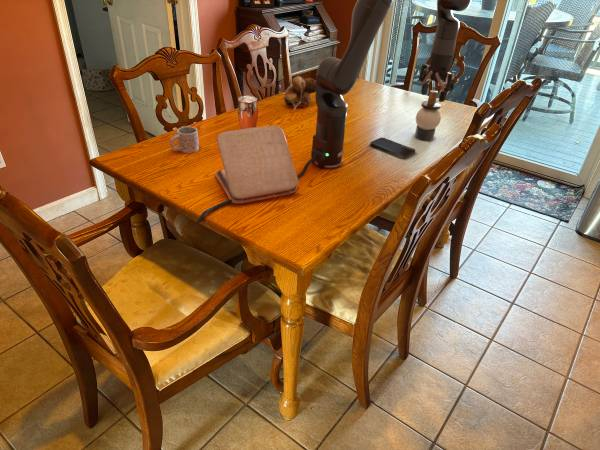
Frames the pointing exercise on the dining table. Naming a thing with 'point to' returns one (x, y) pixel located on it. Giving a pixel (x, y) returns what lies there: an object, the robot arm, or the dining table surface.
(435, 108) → the knob on round base
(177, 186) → the dining table surface
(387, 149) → the phone
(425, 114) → the ball
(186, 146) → the mug
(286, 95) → the seed pod
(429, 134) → the stand
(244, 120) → the beer glass
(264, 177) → the case
